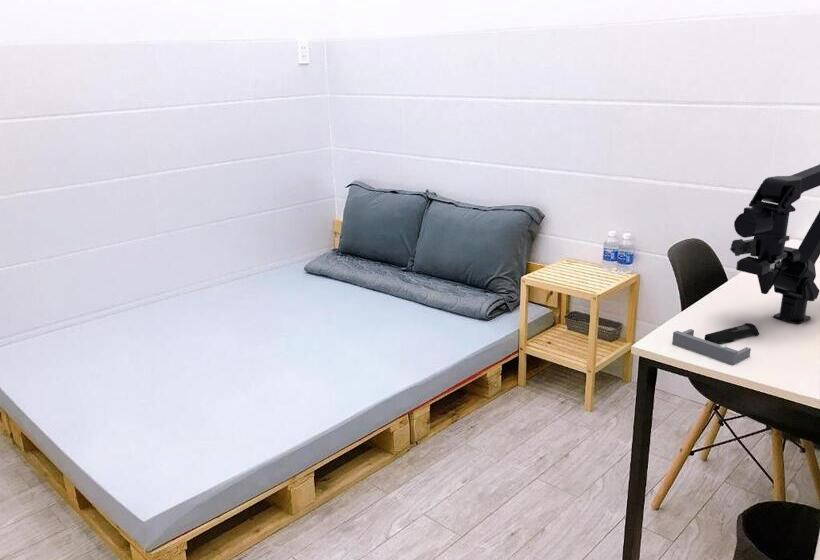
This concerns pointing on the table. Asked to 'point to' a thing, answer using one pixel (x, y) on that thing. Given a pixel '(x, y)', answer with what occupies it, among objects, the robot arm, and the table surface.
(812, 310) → the table surface
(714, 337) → the electric trimmer
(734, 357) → the charging dock
